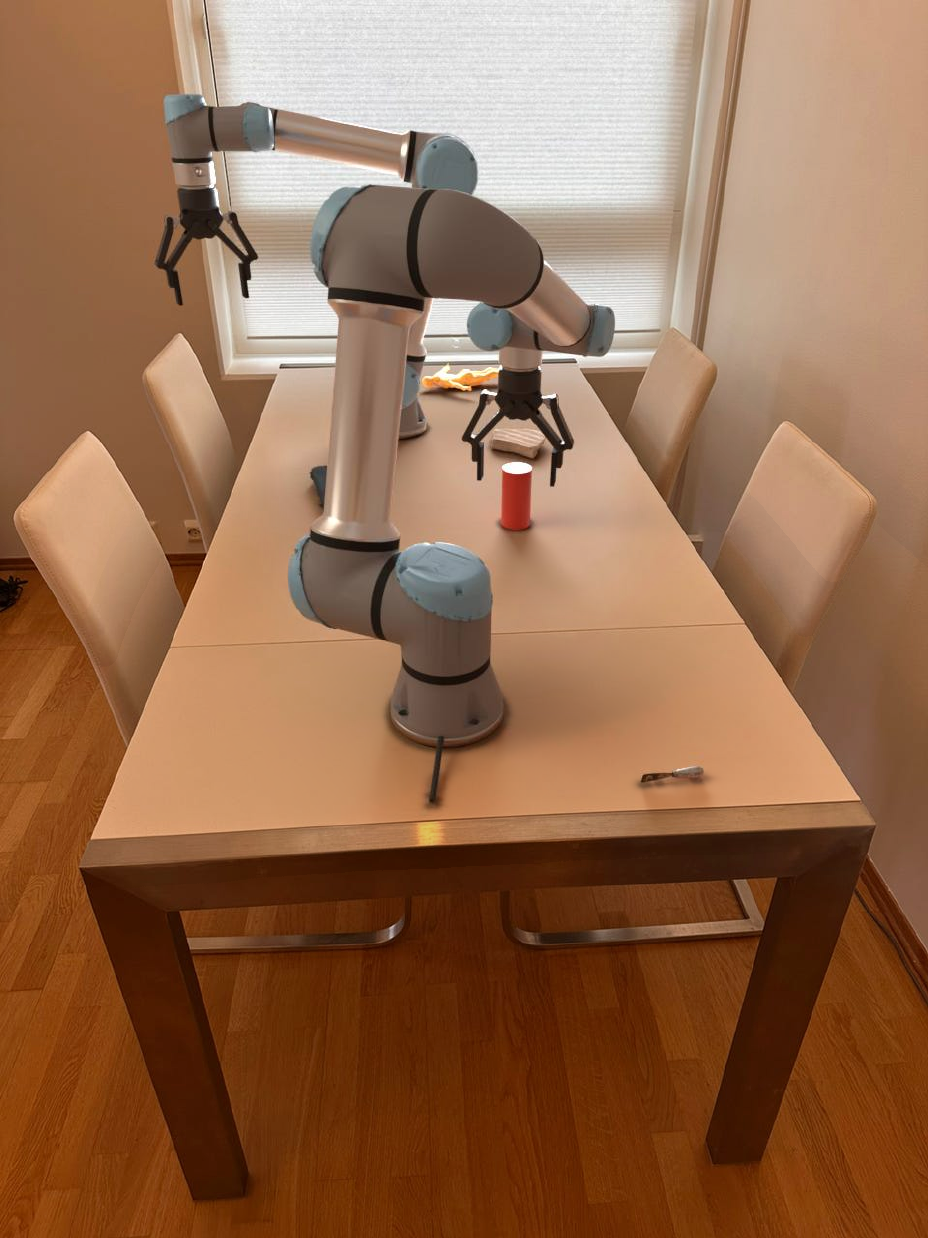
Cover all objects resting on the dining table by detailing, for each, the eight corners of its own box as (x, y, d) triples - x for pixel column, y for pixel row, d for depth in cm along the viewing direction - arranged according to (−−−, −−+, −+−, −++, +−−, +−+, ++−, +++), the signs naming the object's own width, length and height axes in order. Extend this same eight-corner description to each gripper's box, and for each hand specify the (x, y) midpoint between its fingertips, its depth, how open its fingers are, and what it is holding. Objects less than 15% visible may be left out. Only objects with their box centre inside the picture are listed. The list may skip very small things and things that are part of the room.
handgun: (380, 507, 177) (320, 515, 174) (365, 473, 191) (308, 479, 188) (379, 493, 175) (318, 500, 172) (364, 459, 189) (307, 465, 186)
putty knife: (703, 777, 109) (705, 767, 109) (642, 788, 108) (644, 777, 107) (700, 772, 110) (702, 762, 109) (639, 782, 109) (640, 771, 108)
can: (535, 525, 170) (538, 469, 164) (512, 532, 167) (513, 475, 161) (518, 515, 174) (520, 459, 168) (495, 521, 171) (496, 466, 165)
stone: (551, 440, 207) (551, 430, 205) (534, 459, 197) (534, 448, 196) (499, 434, 211) (499, 423, 210) (480, 451, 202) (480, 440, 200)
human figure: (416, 388, 240) (415, 374, 238) (455, 368, 254) (454, 354, 252) (478, 402, 232) (478, 387, 230) (515, 380, 246) (515, 366, 244)
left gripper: (133, 192, 165) (154, 311, 176) (264, 184, 174) (277, 297, 185) (126, 188, 170) (147, 303, 182) (254, 180, 180) (267, 290, 191)
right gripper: (594, 364, 155) (585, 478, 166) (454, 356, 160) (454, 468, 171) (590, 376, 149) (581, 494, 160) (445, 367, 153) (446, 483, 164)
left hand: (213, 300), depth 184 cm, fingers open, 13 cm apart
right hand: (516, 481), depth 165 cm, fingers open, 13 cm apart
